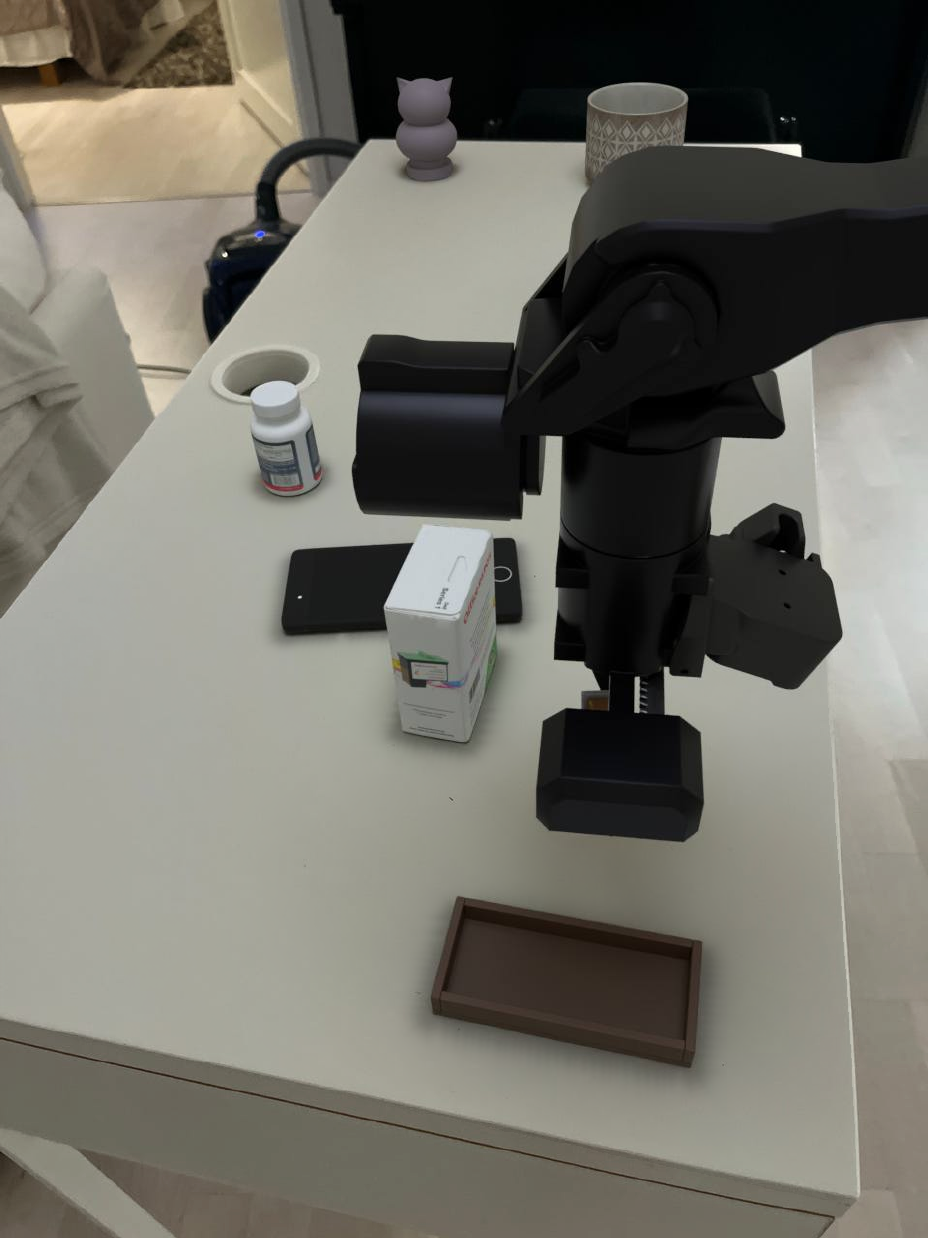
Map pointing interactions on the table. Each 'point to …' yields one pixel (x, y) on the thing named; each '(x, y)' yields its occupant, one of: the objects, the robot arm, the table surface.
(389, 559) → the cell phone
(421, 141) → the cat figurine
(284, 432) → the pill bottle
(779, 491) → the table surface
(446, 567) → the ink box
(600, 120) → the planter
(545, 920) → the walnut tray
